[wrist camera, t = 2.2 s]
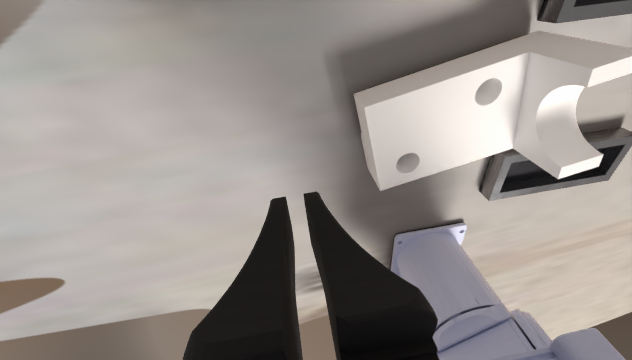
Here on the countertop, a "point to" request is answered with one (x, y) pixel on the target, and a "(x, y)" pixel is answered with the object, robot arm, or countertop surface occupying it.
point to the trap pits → (526, 177)
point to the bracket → (488, 108)
